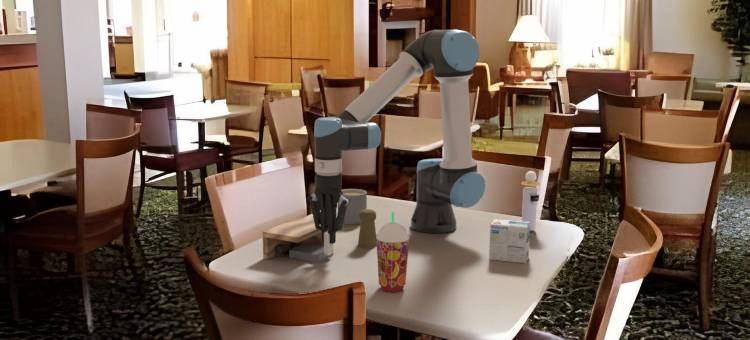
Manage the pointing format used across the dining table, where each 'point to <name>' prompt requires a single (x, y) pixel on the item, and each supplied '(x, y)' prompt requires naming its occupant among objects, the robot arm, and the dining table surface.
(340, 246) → the dining table surface
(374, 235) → the cork
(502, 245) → the light bulb box
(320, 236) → the oak shelf
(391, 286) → the smoothie
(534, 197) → the perfume bottle
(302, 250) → the slate board
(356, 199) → the coffee mug
